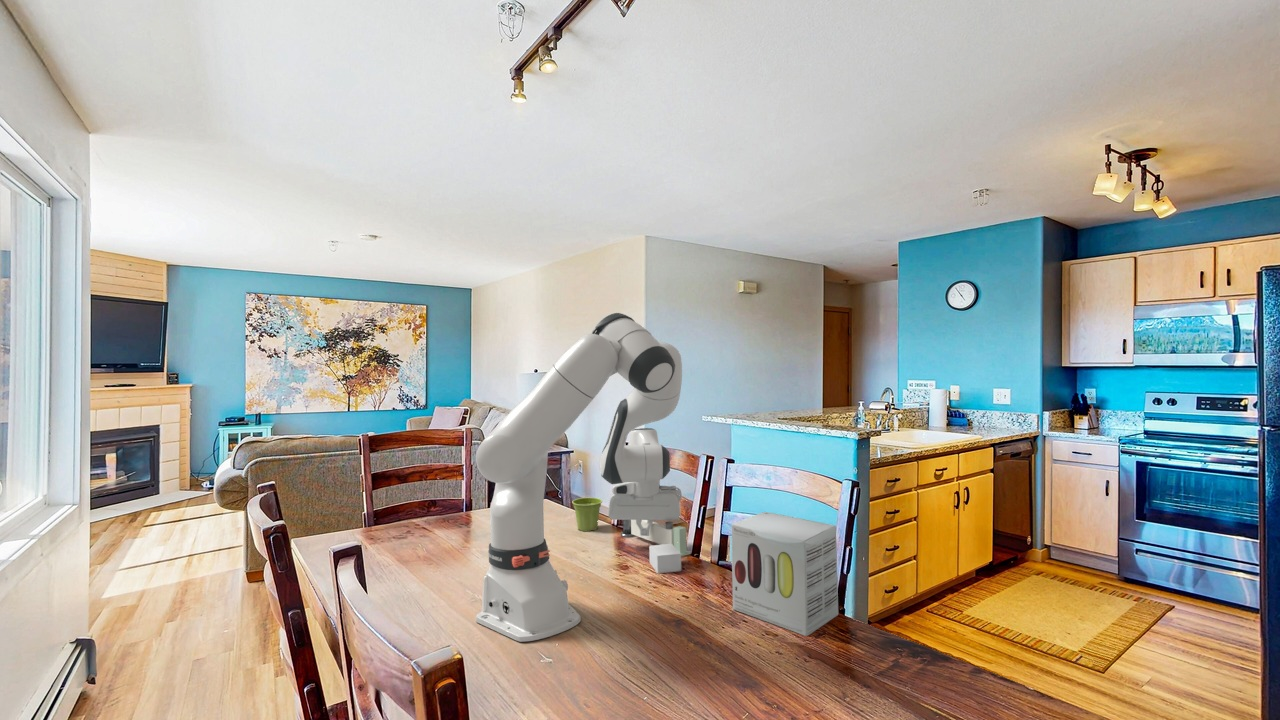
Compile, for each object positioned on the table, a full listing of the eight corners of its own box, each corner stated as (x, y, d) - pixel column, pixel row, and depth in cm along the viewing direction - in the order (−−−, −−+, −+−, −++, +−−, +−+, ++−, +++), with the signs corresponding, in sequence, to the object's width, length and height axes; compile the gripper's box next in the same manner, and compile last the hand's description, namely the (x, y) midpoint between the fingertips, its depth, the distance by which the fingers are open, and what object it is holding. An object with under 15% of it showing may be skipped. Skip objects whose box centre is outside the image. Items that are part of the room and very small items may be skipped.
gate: (631, 533, 171) (630, 512, 171) (636, 532, 172) (636, 510, 172) (671, 548, 157) (671, 524, 157) (677, 546, 158) (676, 523, 158)
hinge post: (638, 535, 174) (637, 511, 174) (626, 538, 171) (626, 514, 171) (629, 532, 177) (628, 509, 177) (617, 535, 174) (617, 511, 174)
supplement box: (730, 611, 120) (728, 523, 120) (766, 592, 129) (764, 510, 129) (807, 638, 108) (804, 540, 108) (840, 614, 117) (838, 524, 117)
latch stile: (692, 553, 156) (691, 527, 156) (679, 557, 153) (679, 530, 153) (678, 548, 160) (677, 523, 160) (666, 552, 158) (665, 526, 158)
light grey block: (681, 571, 143) (680, 553, 143) (657, 574, 142) (657, 555, 142) (672, 561, 151) (671, 543, 151) (649, 563, 150) (649, 545, 150)
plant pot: (605, 524, 186) (604, 497, 186) (600, 533, 177) (599, 504, 177) (576, 524, 187) (575, 497, 187) (569, 533, 178) (569, 504, 178)
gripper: (681, 483, 165) (682, 532, 165) (610, 483, 167) (611, 531, 167) (681, 488, 159) (681, 539, 159) (606, 488, 161) (607, 538, 161)
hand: (645, 535), depth 163 cm, fingers closed
